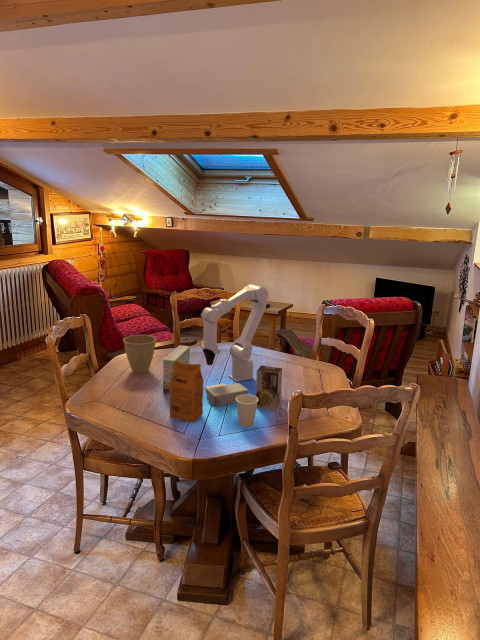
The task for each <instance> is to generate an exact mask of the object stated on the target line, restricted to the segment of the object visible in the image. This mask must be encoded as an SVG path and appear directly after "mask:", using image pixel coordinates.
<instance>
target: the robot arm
mask: <svg viewBox="0 0 480 640" xmlns="http://www.w3.org/2000/svg"><path fill="white" fill-rule="evenodd" d="M269 296H270V295H269V292H268V289H267V288H266V287H264V286H259V285H256V284H254V283H250V284H248V285H246V286H244V287H243V288H242V290H240V291H239V292H237V293H235V295H233V296H232V297H230V298H229V299H226V298H223V299H222V298H221V299H220V300H219V302H217V303H215V304H212V305H210V307H205V308H204V309H203V310H202V313H200V317H201V319H202V323H203V340H200V341H201V342H200V343H201V345H200V348H202V352H203V354H204V357H205V361H206V365H207V366H213V364H214V360H215V357H216V355H219V354H220V349H219V347H218V345H217V338H218V337H217V334H218V333H217V331H218V330H217V329H218V328H217V325H218V324H217V323H218V322H219V320H220V318H221V317H223V315H225V314H227V313H229V312H230V311H232V309H233V308H232V307H234V306H236V305H237V304H240V303H241V302H243V301H245V300H249V301H250V302H251V305H252V309H251V311H250V313H249V316H248V318H247V320H246V322H245V325H244V327H243V330H242V332H241V335H240V336H239V337H238V338H236V339H235V340H234V342H233V344H231V346H230V347H229V351H228V352H229V355H231V374H228V377H229V378H230V379H232V380H233V381H234V382H236V383H238V382H243V381H248V380H252V379H254V362H253V360H252V358H251V357H252V350H253V345H252V341H253V338H254V335H255V333H256V332H257V329H258V326H259V324H260V322H261V319H262V317H263V315H264V313H265V310H266V308H267V300H268V298H269Z"/></svg>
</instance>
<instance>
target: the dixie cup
mask: <svg viewBox="0 0 480 640" xmlns="http://www.w3.org/2000/svg"><path fill="white" fill-rule="evenodd" d="M257 402H258V398H257V397H256V395H253V394H249V393H248V394H243V395H239V396H237V397H236V402H235V403H236V409H237V418H238V419H237V422H238V425H239V426H240V427H242V428H251V427H253V426H254V425H255V419H256V415H257V414H256V413H257V409H258V408H257Z"/></svg>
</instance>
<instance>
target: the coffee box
mask: <svg viewBox="0 0 480 640" xmlns="http://www.w3.org/2000/svg"><path fill="white" fill-rule="evenodd" d="M282 379H283V368H281V367H276V366H275V367H274V366H269V365H268V366H266V365H260V366H259V367H258V369H257V370H256V380H255V381H256V382H255V383H256V386H255V387H256V388H255V390H256V391H255V396H256V397H257V398H258V402H257V408H256V409H261V410H267V411H272V410H273V412H278V410H279V409H280V407H281V406H282V405H281V404H282V403H281V400H282ZM280 405H281V406H280Z"/></svg>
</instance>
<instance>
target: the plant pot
mask: <svg viewBox="0 0 480 640" xmlns="http://www.w3.org/2000/svg"><path fill="white" fill-rule="evenodd" d="M156 343H157V338H156V337H155V336H153V335H149V334H148V335H147V334H131V335H128V336H126V337H124V338H123V345H124V350H125V354H126V358H127V361H128V364H129V366H130V368H131V369H130V370H131V371H132V373H134V374H137V373H142V374H145V373H148V372H149V370H150V368H151V365H152V361H153V357H154V353H155V349H156Z"/></svg>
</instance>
